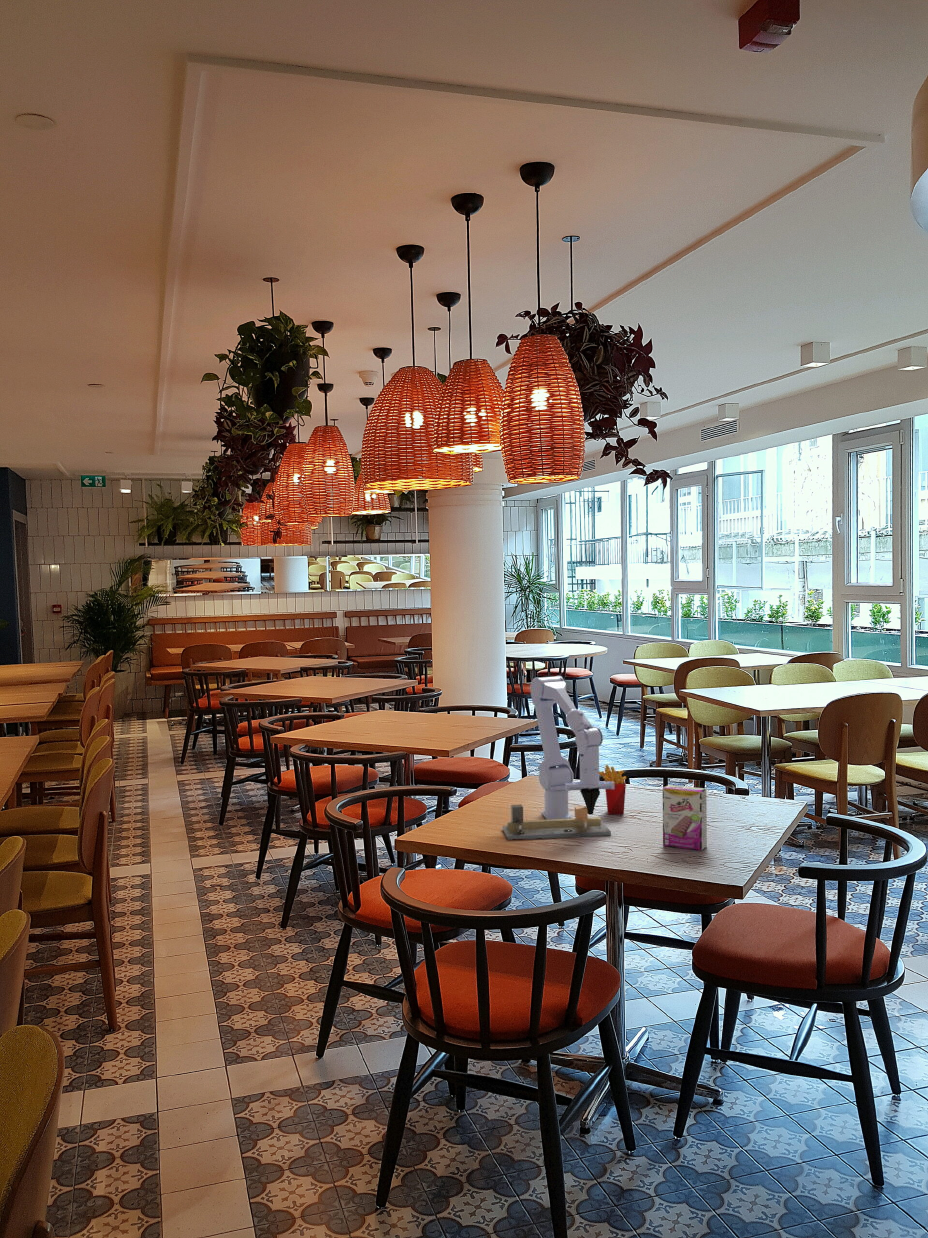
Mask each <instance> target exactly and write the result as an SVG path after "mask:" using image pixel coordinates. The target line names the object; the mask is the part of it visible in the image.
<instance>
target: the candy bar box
mask: <svg viewBox="0 0 928 1238" xmlns="http://www.w3.org/2000/svg"><path fill="white" fill-rule="evenodd" d="M707 812H708V811H707V788H703V787H693V786H683V785H675V784H674V785H672V784H667V785H666V786H663V788H662V845H663V847H670V848H677V849H683V850H684V849H686V850H693V851H703V850H704V849H705V848H707V846H708V844H707V843H708V842H707V841H708V839H707V837H708V836H707V834H708V833H707V829H708V827H707V815H708V813H707Z"/></svg>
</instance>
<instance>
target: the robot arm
mask: <svg viewBox="0 0 928 1238" xmlns="http://www.w3.org/2000/svg"><path fill="white" fill-rule="evenodd" d="M529 691H530V696H531V702H532V705H534V710H535V714H536V719H537V724H538V730H539V735H540V741H541V746H542V751H543V756H544V759H543V761H542V762H540V764H539V765H538V771H539V772H538V773H539V774H538V775H539V776H538V781H539V784H540V786H541V788H542V789H543V790H544V811H543V810H542V811H541V814H542V815H543V817H544V818H545V820H549V819H571V818H573V817H572V815H571V814H570V813H569V792H570V791H579V792H580V795H581V796H582V798H583V800H584V804H585V807H586V808H587V812H588V815H591V816H592V815H594V812H595V806H596V803H597V800H598V798H599V797H600V793H601V791H600V790H605V789H614V782H605V781H604V780H603V781H601V780H600V774H599V771H600V746H601V745H602V744H603V741H604V739H603V738H604V736H603V733H602V731H601V728H600V727H598V726H595V725H592V724H591V722H590V721H589V719H588V718H587V716H586V715H585V713H584V712H583V711H582V710H581V709H577V708H576V706H575V704H574V702H573V701H572V699H571V698H570V696H569V693H568V692H567V682H565V680H564V678H563V676H561V675H556V676H543V677H542V676H541V677H534V678H533V679H532V680H531V683H530V684H529ZM554 704H557V705H558V707H559V708H560V709H561V710H562V712H564V714H565V716H566V717H565V721H566V724H567V725H568V726H569V728H570V729H571V731H572V733H574V735H575V737H574V741H575V745H576V747H577V752H578V754H579V781H576V782H574V780H575V779H574V778H575V777H574V776H575V775H574V772H573V770H572V768H571V765H570V761H569V760H568V759H567V758H565V757H564V756H562V753H561V748H560V747H561V746H560V743H559V737H558V733H557V727H556V724H555V723H556V721H555V718H554V711H553V706H554Z"/></svg>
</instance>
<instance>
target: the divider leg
mask: <svg viewBox="0 0 928 1238" xmlns="http://www.w3.org/2000/svg"><path fill="white" fill-rule="evenodd" d="M588 815H589V814H588V812H587V808H586V805H585V806H574V818H576V819H581V820H582V821H583V822H584V829H587V820H586V819H588V818H589V817H588Z"/></svg>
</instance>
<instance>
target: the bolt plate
mask: <svg viewBox="0 0 928 1238" xmlns="http://www.w3.org/2000/svg"><path fill="white" fill-rule="evenodd" d="M586 820H587V829H584V822H583V821H582V820H581V819H576V818H575V817H572V818H571V819H549V820H547V819H533V820H532V819H531V820H530V819H529V820H524V806H523V805H522V804H511V805H510V820H508V821H506V825H502V831H503V833H504V835H505V837H506V839H507V838H508V839H507V841H511V840H510V839H527V840H540V839H539V838H542V839H541V840H544V839H545V838H546V839H547V838H548V839H564V838H565V839H567V838H588V837H608V836H609V837H610V836H611V835H612V831H611V830H610V829H609V828H608V827H607V826H606V825H605V823H603V822H602V818H601V817H599V816H598V817H597V816H596V817H595V816H593V817H588V819H586ZM537 838H538V839H537Z"/></svg>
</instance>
